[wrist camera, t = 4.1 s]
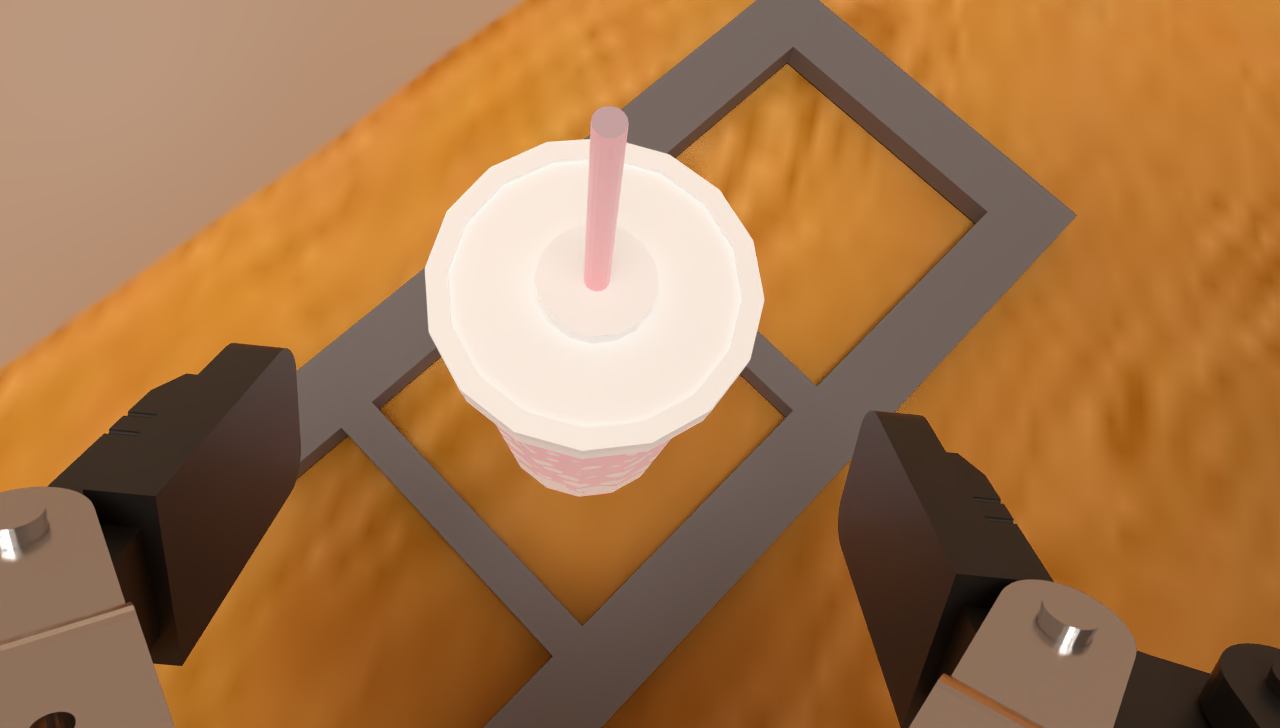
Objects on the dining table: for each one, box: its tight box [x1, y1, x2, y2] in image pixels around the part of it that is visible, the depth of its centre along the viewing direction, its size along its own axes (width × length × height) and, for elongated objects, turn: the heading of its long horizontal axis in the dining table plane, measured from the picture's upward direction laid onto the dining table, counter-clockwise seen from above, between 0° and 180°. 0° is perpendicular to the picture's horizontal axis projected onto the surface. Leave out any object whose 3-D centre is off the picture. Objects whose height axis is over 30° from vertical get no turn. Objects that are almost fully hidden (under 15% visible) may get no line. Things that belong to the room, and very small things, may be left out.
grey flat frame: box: [296, 0, 1077, 728], centre depth 24 cm, size 30×12×1 cm, turn 135°
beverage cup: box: [425, 106, 764, 497], centre depth 17 cm, size 6×6×14 cm
